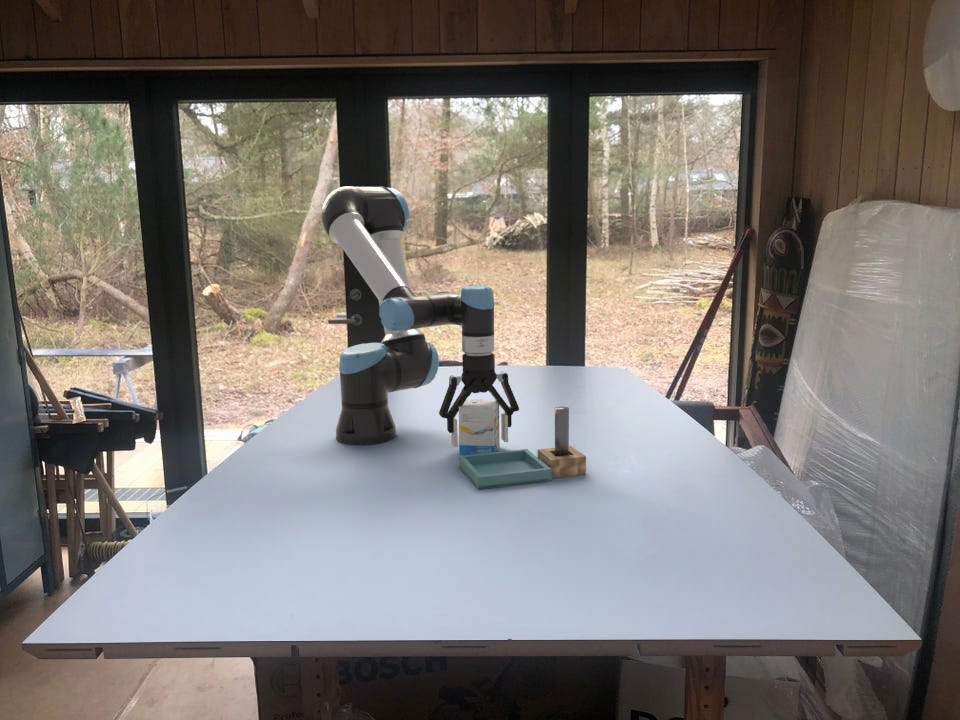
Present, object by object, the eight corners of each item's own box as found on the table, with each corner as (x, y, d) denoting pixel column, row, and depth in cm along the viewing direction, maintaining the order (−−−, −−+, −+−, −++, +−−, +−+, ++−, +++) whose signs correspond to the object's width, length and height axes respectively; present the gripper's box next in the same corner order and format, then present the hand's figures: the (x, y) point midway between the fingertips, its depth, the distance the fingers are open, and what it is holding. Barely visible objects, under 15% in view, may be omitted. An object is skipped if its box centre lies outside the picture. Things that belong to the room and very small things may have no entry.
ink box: (494, 457, 176) (493, 407, 174) (458, 455, 177) (457, 406, 175) (500, 446, 184) (500, 399, 182) (466, 444, 186) (465, 398, 184)
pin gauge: (557, 473, 164) (558, 410, 161) (552, 469, 166) (552, 407, 164) (570, 471, 164) (571, 409, 162) (565, 467, 167) (565, 406, 165)
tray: (478, 489, 154) (478, 477, 154) (459, 467, 169) (458, 456, 168) (551, 480, 159) (551, 469, 158) (526, 459, 173) (526, 448, 173)
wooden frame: (551, 478, 160) (551, 460, 160) (537, 466, 168) (537, 449, 167) (585, 474, 163) (586, 456, 162) (570, 463, 170) (571, 446, 170)
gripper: (431, 359, 170) (434, 452, 173) (532, 352, 176) (532, 442, 180) (424, 353, 177) (427, 443, 181) (521, 347, 183) (522, 434, 187)
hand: (479, 443), depth 180 cm, fingers open, 12 cm apart
